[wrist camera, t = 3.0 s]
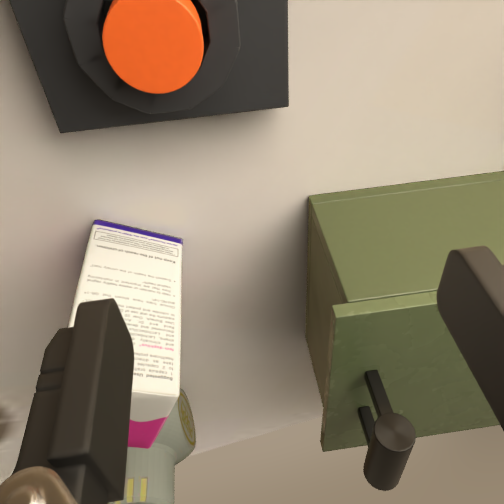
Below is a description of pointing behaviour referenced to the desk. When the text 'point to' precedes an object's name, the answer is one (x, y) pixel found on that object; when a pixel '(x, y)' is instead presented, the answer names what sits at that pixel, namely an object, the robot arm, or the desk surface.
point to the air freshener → (160, 459)
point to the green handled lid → (395, 382)
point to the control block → (148, 104)
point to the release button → (153, 43)
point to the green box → (392, 244)
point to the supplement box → (140, 313)
